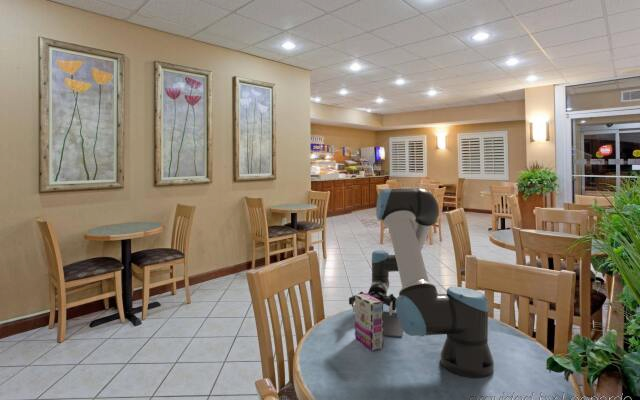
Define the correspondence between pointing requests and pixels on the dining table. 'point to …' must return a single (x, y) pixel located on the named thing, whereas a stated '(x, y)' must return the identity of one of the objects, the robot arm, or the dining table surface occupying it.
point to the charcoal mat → (391, 325)
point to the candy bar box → (369, 321)
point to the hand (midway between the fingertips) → (371, 310)
